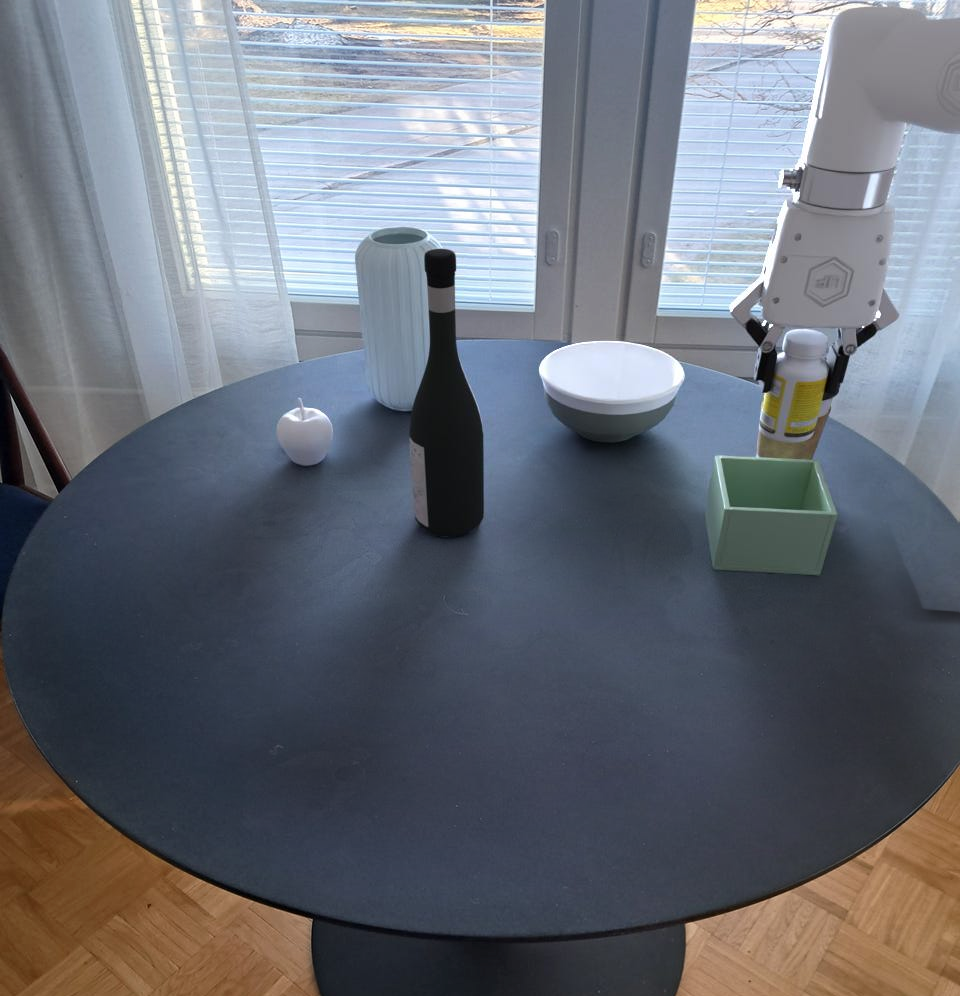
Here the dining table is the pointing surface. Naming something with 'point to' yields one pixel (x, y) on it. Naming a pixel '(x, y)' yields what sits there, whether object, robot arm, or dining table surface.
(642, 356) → the bowl
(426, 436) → the wine bottle
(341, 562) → the dining table surface
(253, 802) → the dining table surface
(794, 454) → the coffee cup
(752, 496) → the bin
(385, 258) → the vase
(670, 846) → the dining table surface
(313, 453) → the plain white apple
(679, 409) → the dining table surface
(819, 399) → the supplement bottle
